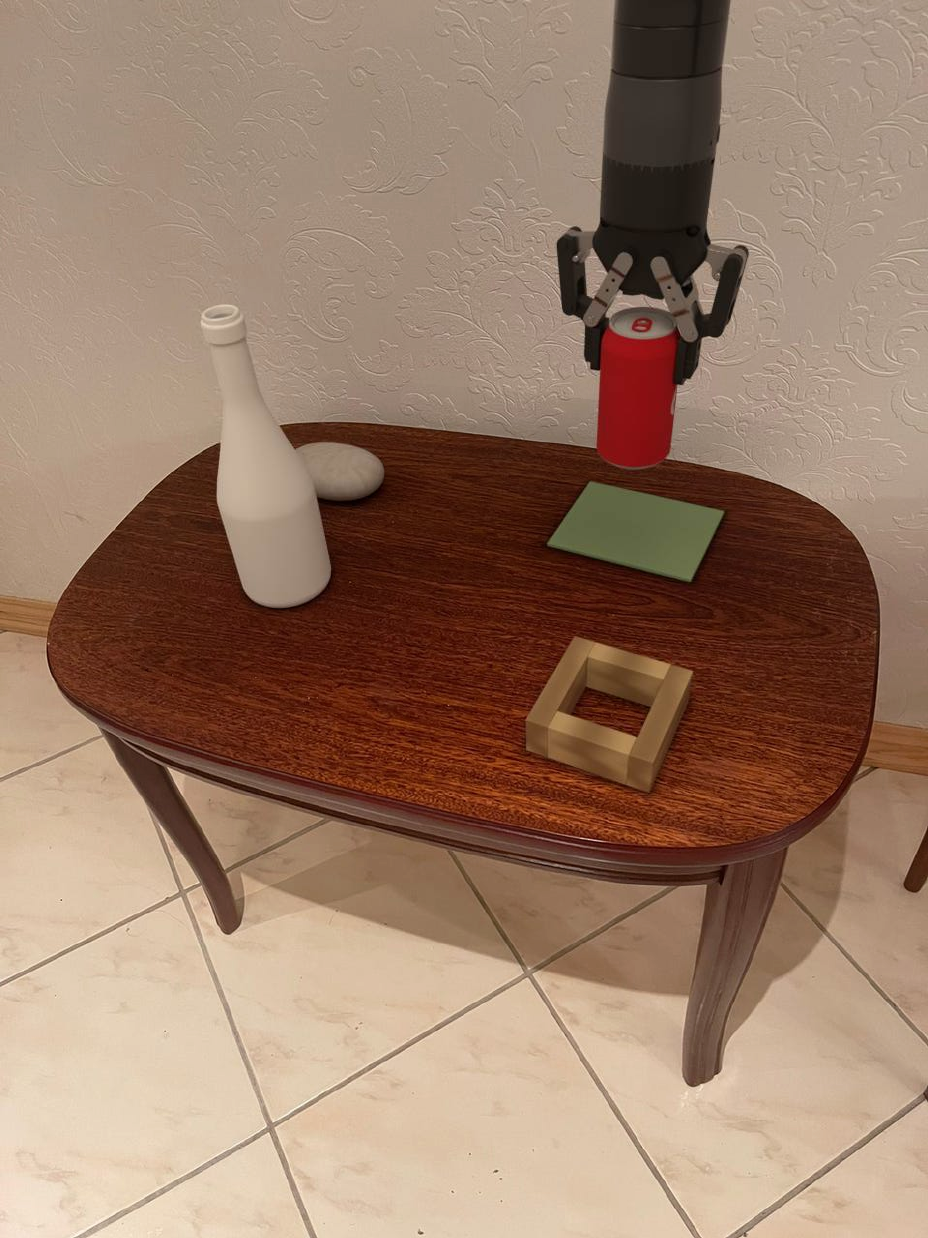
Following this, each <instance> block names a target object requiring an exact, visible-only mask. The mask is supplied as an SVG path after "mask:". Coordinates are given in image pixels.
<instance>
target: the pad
mask: <svg viewBox="0 0 928 1238" xmlns="http://www.w3.org/2000/svg"><path fill="white" fill-rule="evenodd" d="M724 515H725V510H722V509H717V508H712V507H709V506H704V505H699V504H694V503H690V502H685V501H682V500H681V501H680V500H676V499H672V498H668V497H663V496H659V495H655V494H650V493H645V492H641V491H636V490H633V489H632V490H631V489H627V488H622V487H618V486H614V485H609V484H604V483H600V482H596V481H591V480H590V481H589V482H588V484H587V485H586V487H585V488H584V489H583V490H582V492H581V494H580V495H579V497H578V498H577V499H576V501H575V502H574V504H573V505H572V507H571V508H570V510H569V511H568V512H567V514H565V517H564V518H563V520H562V521H561V523H560V524H559V525H558V527H557V528H556V530H555V531H554V533H553V534H552V536H551V537H550V539H549V540H548V541H547V543H546V546H547V547H549V548H550V547H551V548H553V549H558V550H562V551H565V552H569V553H572V554H573V553H574V554H577V555H582V556H585V557H590V558H593V559H597V560H600V561H605V562H608V563H612V564H617V565H620V566H623V567H628V568H632V569H636V570H640V571H644V572H647V573H652V574H655V575H659V576H662V577H663V576H664V577H667V578H672V579H675V580H679V581H683V582H686V583H687V582H688V583H691V582H692V581H693V579H694V576H695V575H696V572H697V571H698V569H699V567H700V565H701V562H702V560H703V558H704V557H705V555H706V552H707V550H708V549H709V546H710V544H711V542H712V540H713V538H714V535H715V534H716V532H717V529H718V528H719V526H720V523H721V521H722V519H723V517H724Z"/></svg>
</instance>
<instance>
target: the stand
mask: <svg viewBox="0 0 928 1238" xmlns="http://www.w3.org/2000/svg"><path fill="white" fill-rule="evenodd" d="M693 676H694V671H693V670H691V669H688V668H684V667H681V666H679V665H678V666H677V665H674V664H671V663H667V662H665V661H660V660H658V659H654V658H650V657H647V656H643V655H640V654H637V653H633V652H630V651H628V650H624V649H621V648H617V647H614V646H609V645H606V644H603V643H599V642H596V641H593V640H589V639H586V638H582V637H579V636H576V635H575V636H574V637H573V638H572V639H571V641H570V643H569V644H568V647H567V648H566V650H565V652H564V653H563V655H562V657H561V659H560V660H559V662H558V664H557V666H556V667H555V669H554V670H553V672H552V674H551V676H550V677H549V679H548V681H547V682H546V684H545V686H544V688H543V689H542V690H541V692H540V694H539V695H538V698H537V699H536V701H535V703H534V704H533V707H532V708H531V709H530V712H529V713H528V715H527V716H526V718H525V750H526V751H528V752H530V753H534V754H537V755H539V756H541V757H545V758H547V759H550V760H554V761H557V762H559V763H561V764H565V765H568V766H570V767H573V768H576V769H580V770H582V771H585V772H587V773H591V774H594V775H595V776H599V777H602V778H605V779H608V780H610V781H613V782H616V783H619V784H622V785H623V786H624V785H625V786H628V787H631V788H633V789H637V790H639V791H642V792H645V793H647V794H649V793H650V792H651V790H652V787H653V785H654V784H655V781H656V779H657V776H658V774H659V771H660V769H661V767H662V765H663V762H664V759H665V758H666V755H667V754H668V751H669V748H670V745H671V743H672V741H673V739H674V737H675V734H676V731H677V729H678V727H679V725H680V722H681V720H682V717H683V715H684V713H685V711H686V709H687V706H688V704H689V699H690V695H691V694H690V693H691V687H692V682H693ZM586 688H588V689H592V690H595V691H598V692H601V693H604V694H608V695H610V696H614V697H618V698H619V699H624V700H627V701H630V702H633V703H637V704H639V705H643V706H646V707H649V708H650V709H649V712H648V713H647V714H646V715H647V716H646V718H645V720H644V722H643V724H642V726H641V729H640V730H639V733H638V735H637V736H635V735H631V734H628V733H625V732H622V731H620V730H616V729H614V728H611V727H607V726H605V725H601V724H598V723H595V722H592V721H589V720H586V719H583V718H580V717H577V716H574V715H572V713H573V711H574V710H575V707H576V706H577V704H578V702H579V700H580V698H581V696H582V695H583V693H584V691H585V689H586Z"/></svg>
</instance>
